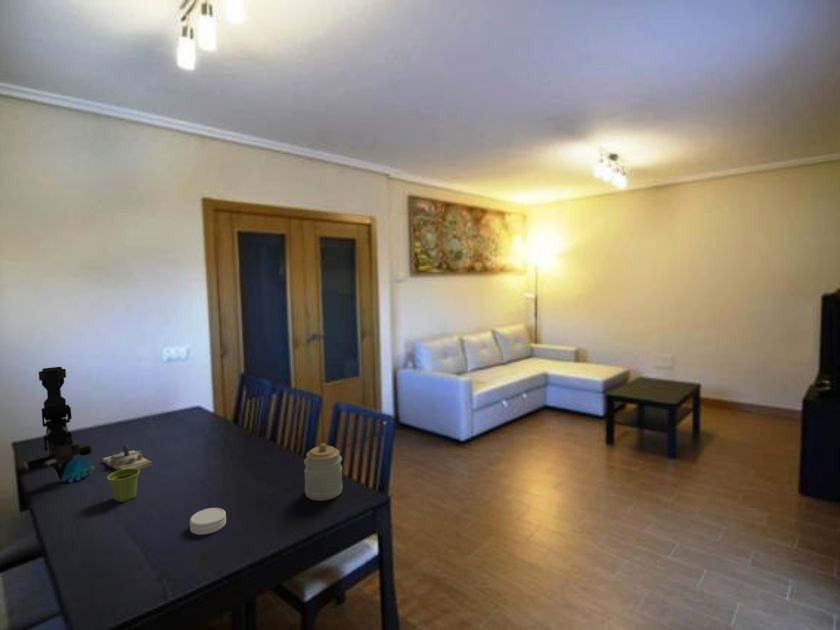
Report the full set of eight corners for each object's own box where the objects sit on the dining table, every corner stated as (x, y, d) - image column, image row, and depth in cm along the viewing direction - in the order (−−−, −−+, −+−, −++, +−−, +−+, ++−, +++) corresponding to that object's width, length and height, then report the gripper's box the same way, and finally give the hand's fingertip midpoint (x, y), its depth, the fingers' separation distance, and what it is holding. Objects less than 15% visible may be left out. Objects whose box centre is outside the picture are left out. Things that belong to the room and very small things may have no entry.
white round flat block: (189, 538, 132) (188, 527, 132) (191, 521, 141) (190, 511, 141) (226, 531, 136) (225, 519, 136) (226, 515, 145) (225, 504, 145)
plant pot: (106, 507, 150) (105, 482, 149) (111, 495, 158) (109, 471, 157) (140, 500, 154) (138, 476, 153) (142, 489, 162) (140, 465, 161)
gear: (53, 481, 165) (62, 455, 171) (56, 487, 169) (65, 462, 175) (89, 480, 169) (96, 455, 175) (91, 486, 173) (99, 461, 179)
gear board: (101, 462, 186) (100, 444, 185) (131, 453, 195) (130, 436, 194) (122, 474, 174) (121, 455, 173) (153, 464, 183) (152, 446, 182)
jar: (349, 487, 163) (348, 439, 162) (330, 504, 151) (329, 452, 150) (317, 481, 168) (316, 435, 166) (297, 498, 155) (295, 448, 154)
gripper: (31, 450, 153) (34, 494, 154) (95, 434, 168) (98, 475, 169) (21, 443, 159) (24, 486, 160) (84, 428, 174) (87, 468, 175)
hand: (60, 478), depth 166 cm, fingers closed
